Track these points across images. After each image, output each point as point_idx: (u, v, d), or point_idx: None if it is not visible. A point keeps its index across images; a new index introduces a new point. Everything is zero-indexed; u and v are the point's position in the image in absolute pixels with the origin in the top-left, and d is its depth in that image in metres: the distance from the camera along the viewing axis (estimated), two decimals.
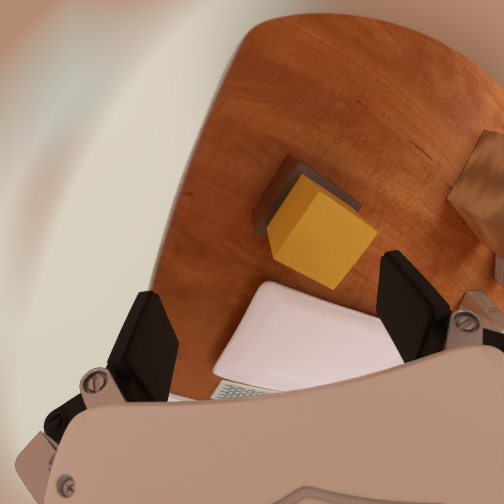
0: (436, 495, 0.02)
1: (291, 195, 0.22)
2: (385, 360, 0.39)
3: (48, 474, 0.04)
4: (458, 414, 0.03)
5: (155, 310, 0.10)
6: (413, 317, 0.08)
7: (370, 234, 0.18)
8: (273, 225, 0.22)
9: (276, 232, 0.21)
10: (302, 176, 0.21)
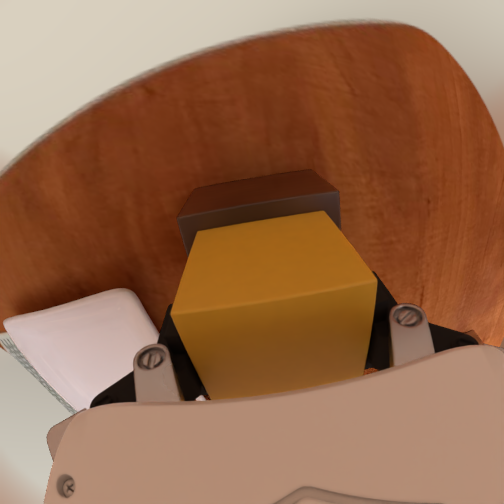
0: (436, 495, 0.02)
1: (284, 223, 0.11)
2: None
3: None
4: (458, 414, 0.03)
5: None
6: None
7: None
8: (214, 240, 0.10)
9: (214, 262, 0.09)
10: (325, 215, 0.11)
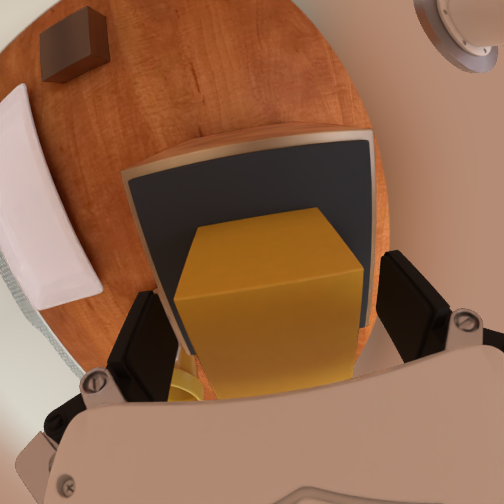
0: (436, 495, 0.02)
1: (279, 219, 0.12)
2: (55, 265, 0.33)
3: (48, 474, 0.04)
4: (458, 414, 0.03)
5: (155, 310, 0.10)
6: (413, 317, 0.08)
7: (342, 377, 0.10)
8: (214, 235, 0.11)
9: (214, 254, 0.10)
10: (318, 211, 0.12)
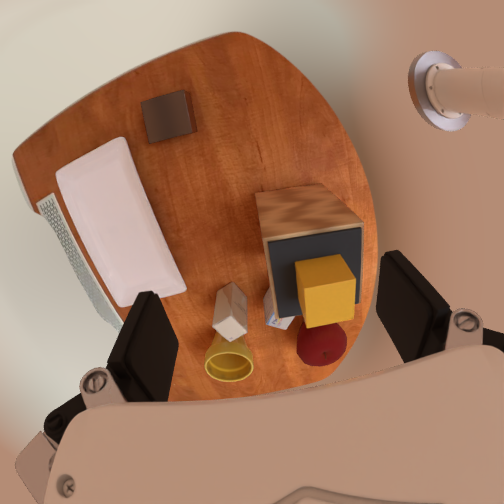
0: (436, 495, 0.02)
1: (326, 259, 0.31)
2: (143, 273, 0.53)
3: (48, 474, 0.04)
4: (458, 414, 0.03)
5: (155, 310, 0.10)
6: (413, 317, 0.08)
7: (350, 316, 0.29)
8: (304, 266, 0.31)
9: (309, 274, 0.29)
10: (340, 256, 0.31)
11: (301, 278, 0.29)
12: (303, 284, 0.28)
